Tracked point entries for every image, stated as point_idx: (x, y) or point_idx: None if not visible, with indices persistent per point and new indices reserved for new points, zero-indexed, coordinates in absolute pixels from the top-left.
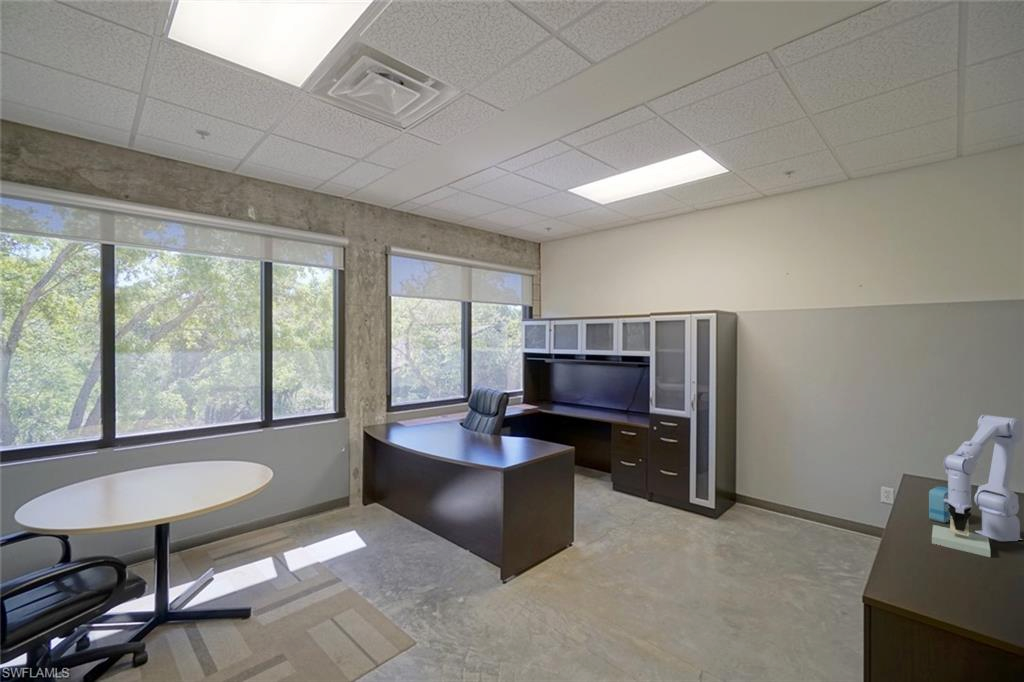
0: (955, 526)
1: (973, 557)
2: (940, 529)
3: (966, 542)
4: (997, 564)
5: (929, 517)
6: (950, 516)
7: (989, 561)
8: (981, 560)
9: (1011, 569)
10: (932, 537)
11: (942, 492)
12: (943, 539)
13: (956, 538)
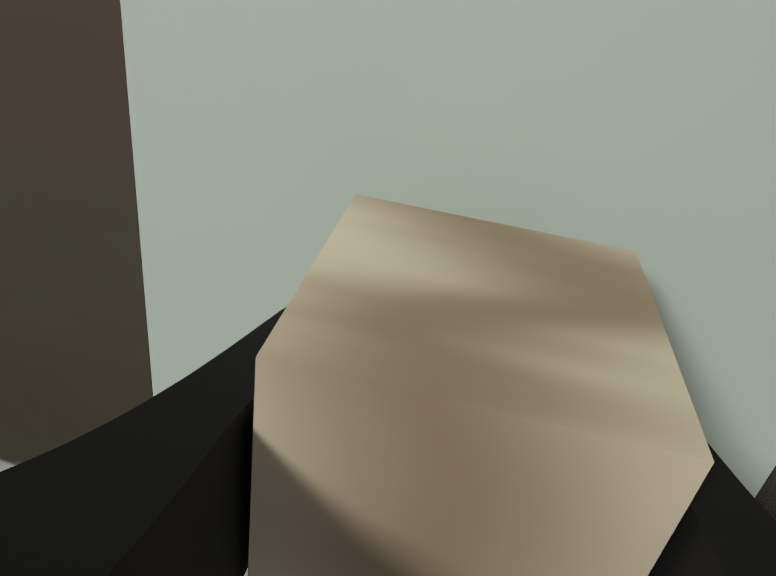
0: (243, 341)
1: (61, 263)
2: (742, 73)
3: (231, 312)
4: (50, 398)
5: None
6: (645, 449)
7: (73, 364)
8: (36, 309)
9: (23, 452)
10: None
11: None
12: (127, 23)
13: (320, 231)
